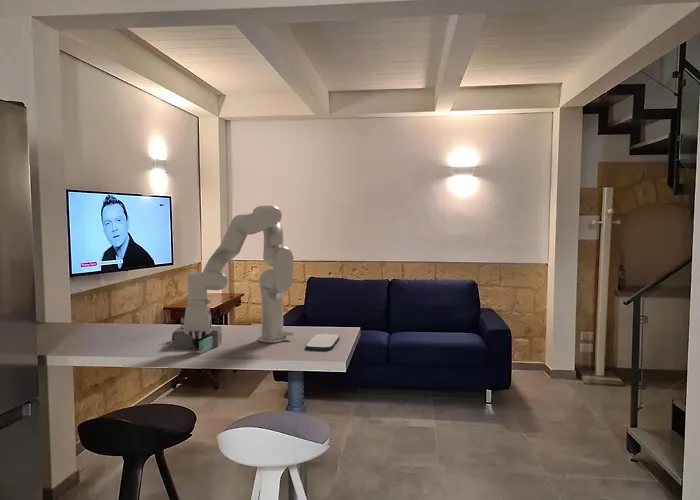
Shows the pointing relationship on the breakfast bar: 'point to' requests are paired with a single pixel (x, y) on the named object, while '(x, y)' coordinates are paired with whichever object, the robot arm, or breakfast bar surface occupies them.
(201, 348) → the side door
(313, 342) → the external hard drive
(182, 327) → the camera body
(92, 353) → the breakfast bar surface
